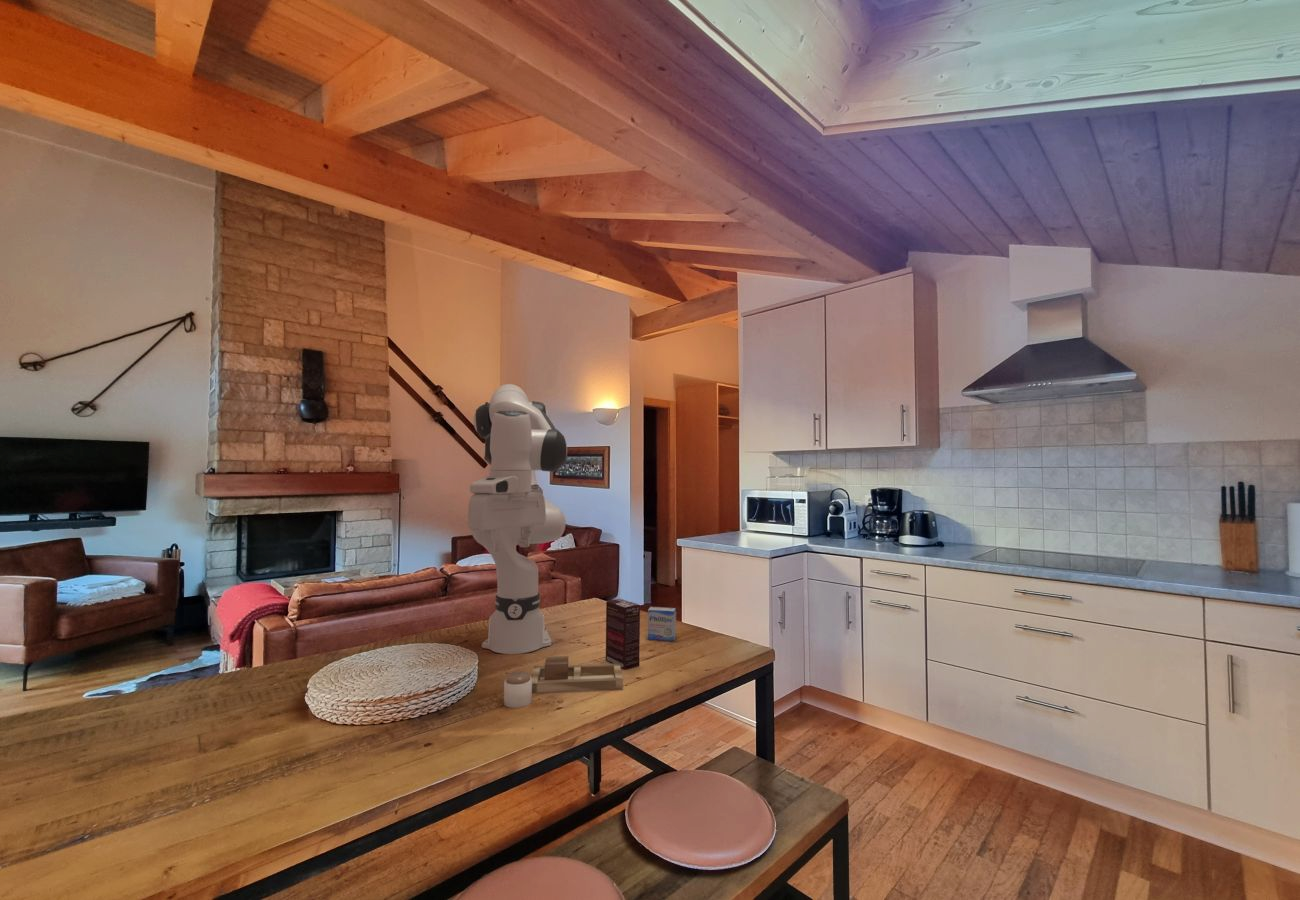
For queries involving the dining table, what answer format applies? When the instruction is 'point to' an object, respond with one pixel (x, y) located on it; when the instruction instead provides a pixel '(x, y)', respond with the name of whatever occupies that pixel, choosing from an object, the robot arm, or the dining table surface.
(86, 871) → the dining table surface
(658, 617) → the medicine box
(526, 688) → the cream ceramic jar
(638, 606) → the supplement box
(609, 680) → the organizer
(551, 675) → the walnut block
